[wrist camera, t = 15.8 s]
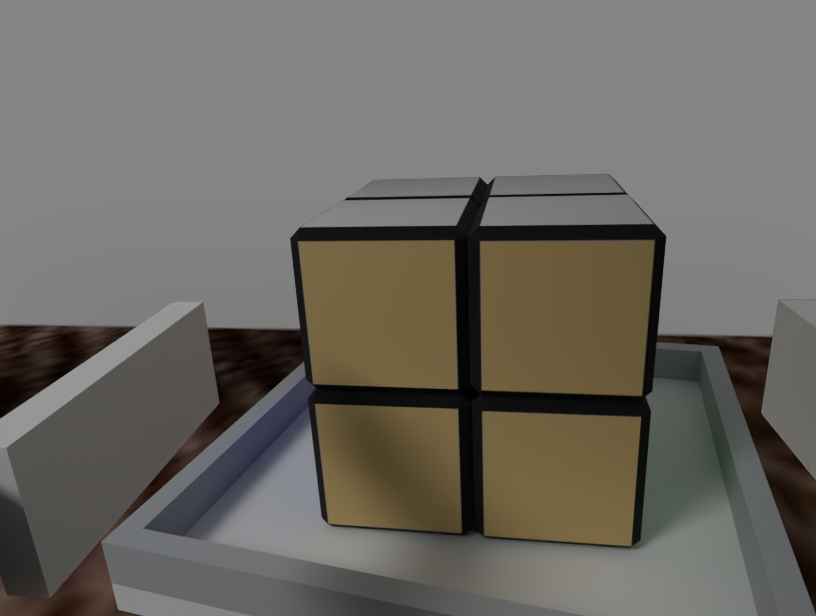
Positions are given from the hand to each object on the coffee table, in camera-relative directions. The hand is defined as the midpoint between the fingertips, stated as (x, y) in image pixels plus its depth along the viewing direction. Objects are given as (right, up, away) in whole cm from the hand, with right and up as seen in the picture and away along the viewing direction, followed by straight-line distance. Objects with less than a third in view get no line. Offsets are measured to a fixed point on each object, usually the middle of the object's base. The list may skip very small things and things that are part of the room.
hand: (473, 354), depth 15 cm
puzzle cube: (+1, -5, +10) cm, 11 cm away
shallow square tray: (+1, -6, +10) cm, 11 cm away
